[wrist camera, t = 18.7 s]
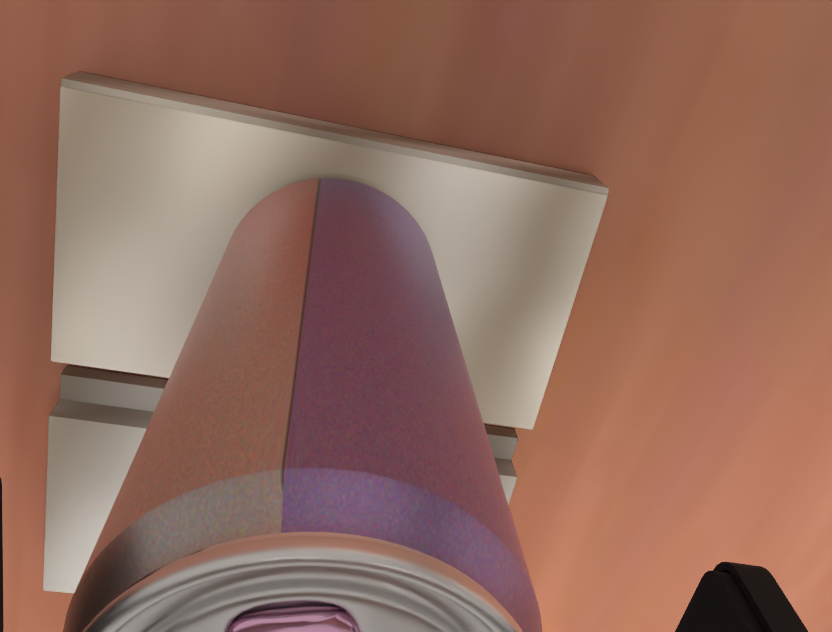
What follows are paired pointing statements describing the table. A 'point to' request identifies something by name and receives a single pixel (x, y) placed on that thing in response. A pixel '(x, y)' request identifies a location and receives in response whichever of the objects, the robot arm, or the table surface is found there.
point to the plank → (270, 171)
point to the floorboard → (122, 461)
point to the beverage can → (314, 448)
